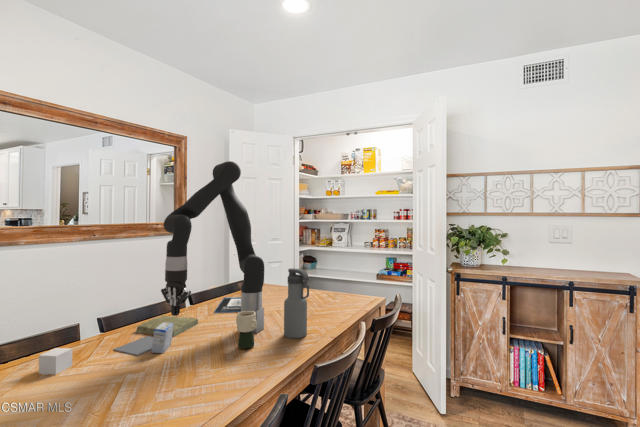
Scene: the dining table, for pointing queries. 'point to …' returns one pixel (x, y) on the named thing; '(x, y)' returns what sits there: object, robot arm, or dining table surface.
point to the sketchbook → (229, 305)
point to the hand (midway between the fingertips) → (175, 315)
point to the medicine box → (162, 337)
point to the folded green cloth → (179, 322)
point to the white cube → (55, 361)
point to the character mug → (246, 328)
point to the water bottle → (296, 305)
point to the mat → (137, 346)
